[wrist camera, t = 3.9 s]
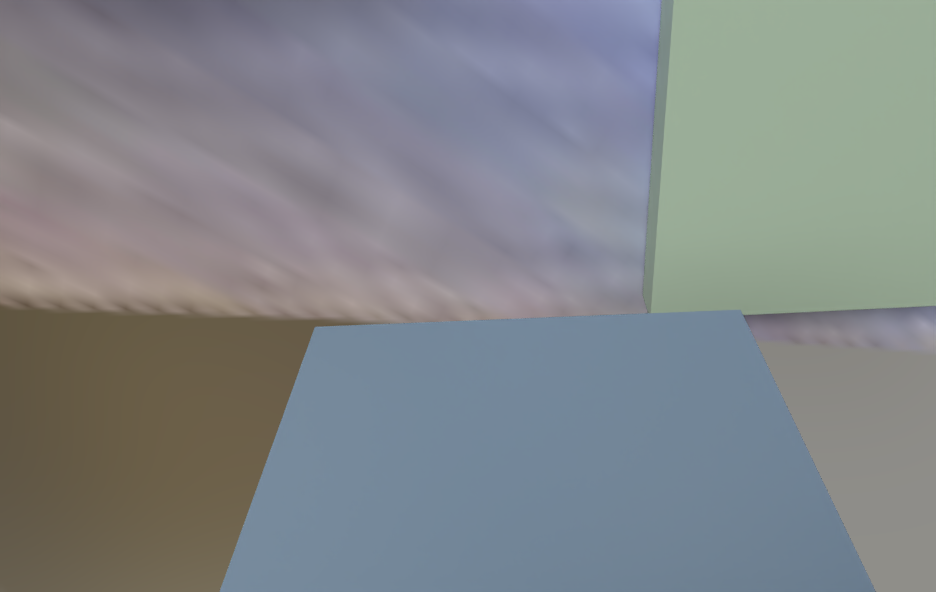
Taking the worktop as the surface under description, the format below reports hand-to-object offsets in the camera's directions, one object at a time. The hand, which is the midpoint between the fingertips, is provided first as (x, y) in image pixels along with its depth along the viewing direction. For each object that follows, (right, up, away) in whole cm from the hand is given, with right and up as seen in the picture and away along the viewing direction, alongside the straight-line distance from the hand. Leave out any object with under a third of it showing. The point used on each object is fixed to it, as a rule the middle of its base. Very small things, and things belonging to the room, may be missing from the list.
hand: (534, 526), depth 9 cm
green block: (+9, +7, +8) cm, 14 cm away
